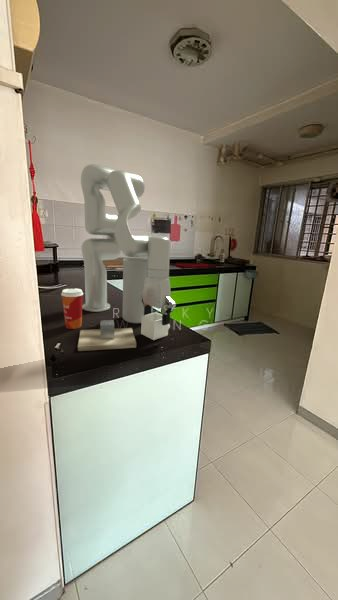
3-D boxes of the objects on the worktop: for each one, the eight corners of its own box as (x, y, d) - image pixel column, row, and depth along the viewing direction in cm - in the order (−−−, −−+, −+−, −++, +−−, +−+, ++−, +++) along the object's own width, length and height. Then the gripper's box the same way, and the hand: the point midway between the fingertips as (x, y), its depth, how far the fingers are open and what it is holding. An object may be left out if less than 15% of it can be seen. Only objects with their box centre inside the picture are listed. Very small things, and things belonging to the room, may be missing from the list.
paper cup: (62, 323, 98) (60, 288, 94) (83, 321, 101) (82, 287, 97) (63, 331, 91) (61, 293, 87) (85, 329, 94) (84, 292, 90)
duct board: (80, 333, 90) (80, 330, 89) (131, 331, 95) (131, 327, 94) (77, 351, 78) (77, 346, 77) (136, 347, 83) (136, 343, 82)
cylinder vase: (126, 325, 100) (127, 262, 93) (119, 314, 111) (120, 257, 104) (155, 322, 105) (159, 262, 98) (147, 312, 116) (149, 258, 109)
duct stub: (100, 334, 87) (100, 320, 86) (113, 333, 88) (113, 320, 87) (100, 339, 83) (100, 325, 82) (114, 338, 84) (114, 324, 83)
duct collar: (141, 333, 93) (141, 315, 91) (160, 327, 100) (161, 310, 98) (153, 340, 89) (154, 321, 87) (173, 333, 96) (174, 315, 94)
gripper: (133, 271, 90) (133, 316, 95) (167, 278, 79) (165, 330, 83) (149, 269, 95) (148, 312, 100) (183, 276, 84) (181, 325, 88)
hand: (156, 320), depth 91 cm, fingers open, 9 cm apart
